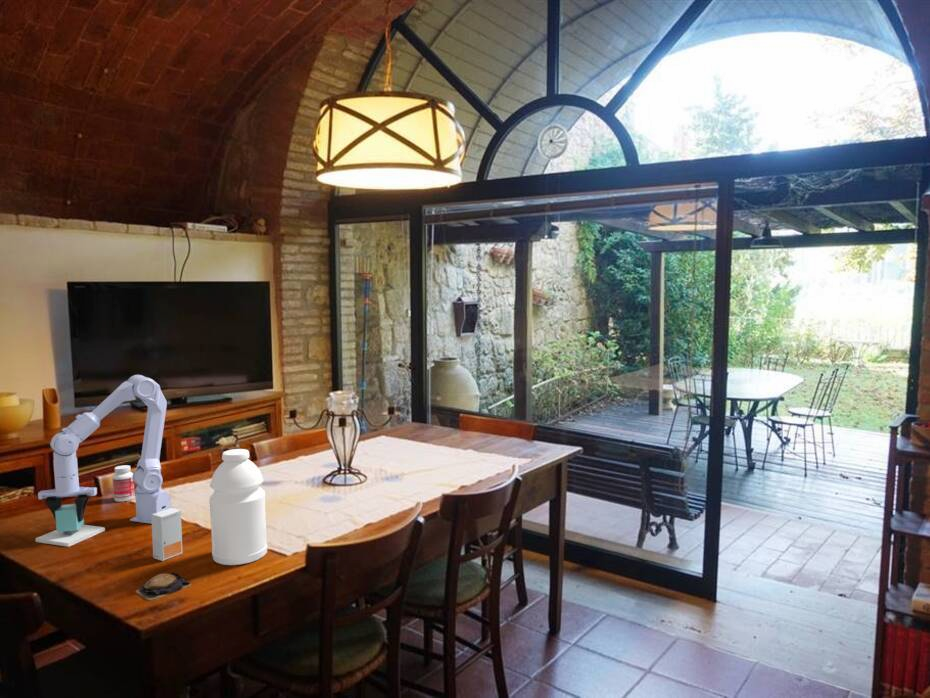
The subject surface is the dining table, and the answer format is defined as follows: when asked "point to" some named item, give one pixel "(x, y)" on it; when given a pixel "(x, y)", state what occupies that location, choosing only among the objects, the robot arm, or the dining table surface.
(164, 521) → the skincare box
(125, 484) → the pill bottle
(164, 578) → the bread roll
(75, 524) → the teal toy cube
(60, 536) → the post base
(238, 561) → the bottle
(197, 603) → the dining table surface
